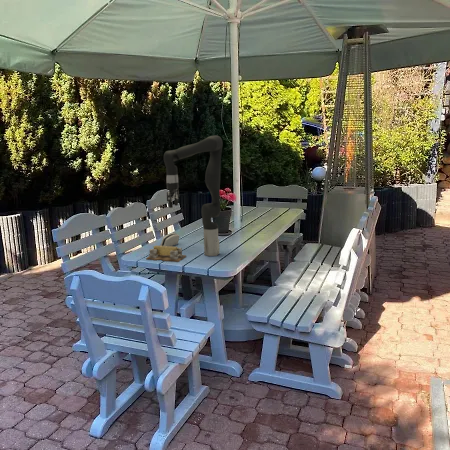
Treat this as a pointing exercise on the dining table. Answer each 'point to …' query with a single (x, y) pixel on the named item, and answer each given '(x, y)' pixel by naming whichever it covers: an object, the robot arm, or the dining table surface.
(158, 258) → the chain bed
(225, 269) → the dining table surface
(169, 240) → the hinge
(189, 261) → the dining table surface
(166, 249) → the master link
